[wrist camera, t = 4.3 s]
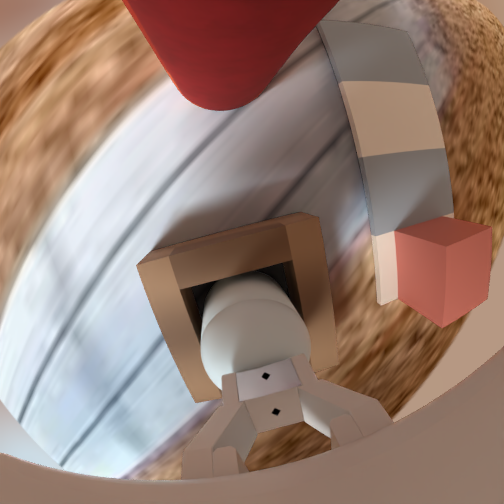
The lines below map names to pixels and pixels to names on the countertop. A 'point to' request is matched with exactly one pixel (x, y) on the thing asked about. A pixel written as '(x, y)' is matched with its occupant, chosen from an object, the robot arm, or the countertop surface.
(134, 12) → the paper cup
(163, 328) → the button box
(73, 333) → the countertop surface
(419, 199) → the track
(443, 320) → the red block
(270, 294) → the dome
